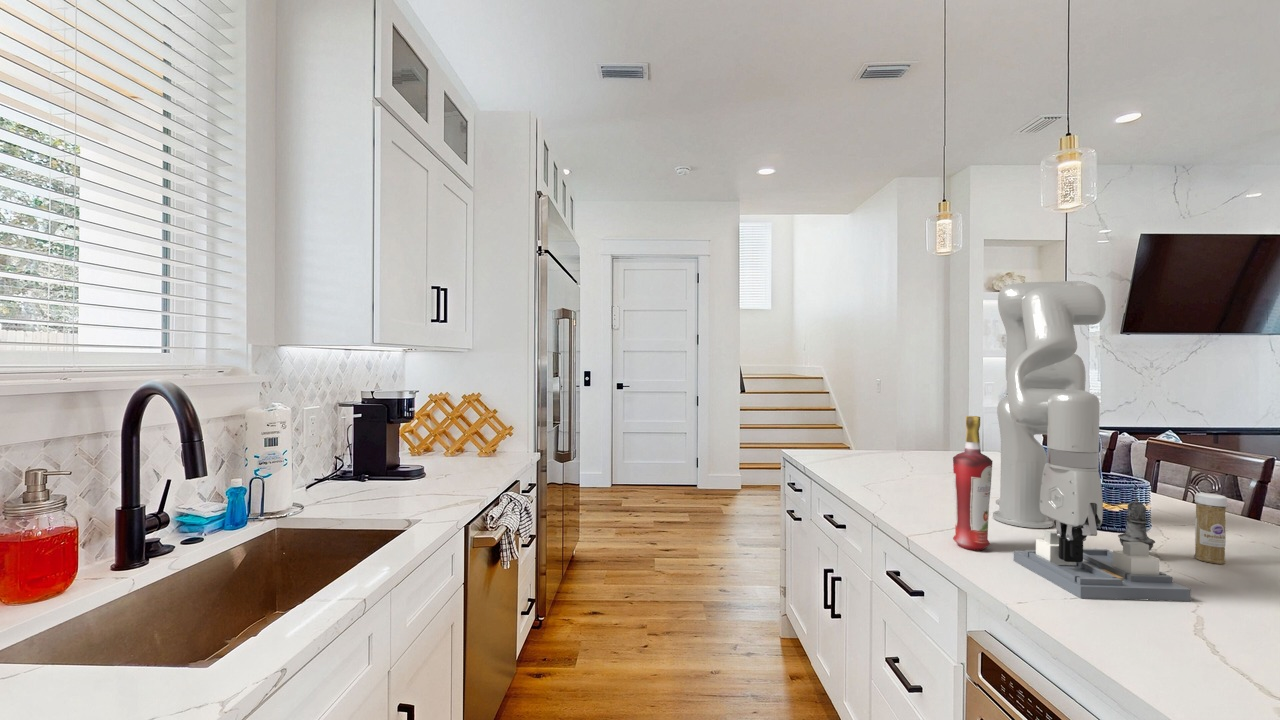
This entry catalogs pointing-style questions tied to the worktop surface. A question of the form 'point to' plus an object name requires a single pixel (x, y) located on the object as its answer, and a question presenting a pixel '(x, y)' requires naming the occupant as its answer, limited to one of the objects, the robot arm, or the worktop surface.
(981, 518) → the liquor
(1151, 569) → the tab
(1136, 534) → the grey bust statue
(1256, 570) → the worktop surface
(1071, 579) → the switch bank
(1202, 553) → the sprinkles bottle
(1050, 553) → the tab
